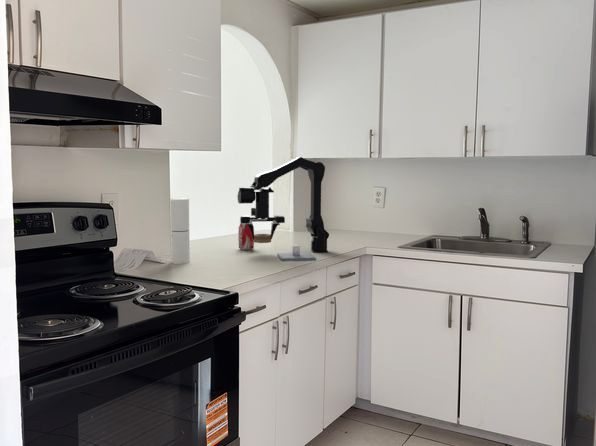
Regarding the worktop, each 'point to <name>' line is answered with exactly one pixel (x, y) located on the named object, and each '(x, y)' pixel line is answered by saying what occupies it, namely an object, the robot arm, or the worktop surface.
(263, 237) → the walnut ring
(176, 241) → the cylindrical container
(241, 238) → the soda can
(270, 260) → the worktop surface
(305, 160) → the robot arm
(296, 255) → the post plate
